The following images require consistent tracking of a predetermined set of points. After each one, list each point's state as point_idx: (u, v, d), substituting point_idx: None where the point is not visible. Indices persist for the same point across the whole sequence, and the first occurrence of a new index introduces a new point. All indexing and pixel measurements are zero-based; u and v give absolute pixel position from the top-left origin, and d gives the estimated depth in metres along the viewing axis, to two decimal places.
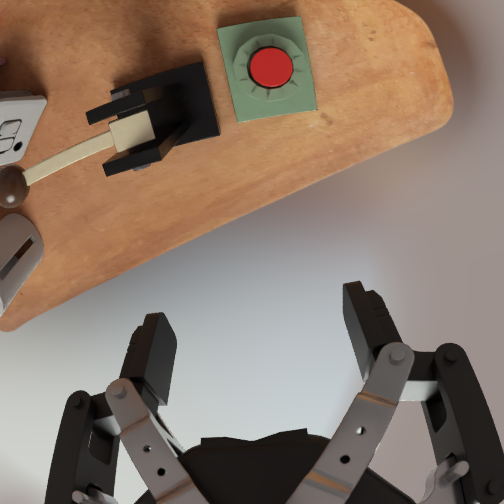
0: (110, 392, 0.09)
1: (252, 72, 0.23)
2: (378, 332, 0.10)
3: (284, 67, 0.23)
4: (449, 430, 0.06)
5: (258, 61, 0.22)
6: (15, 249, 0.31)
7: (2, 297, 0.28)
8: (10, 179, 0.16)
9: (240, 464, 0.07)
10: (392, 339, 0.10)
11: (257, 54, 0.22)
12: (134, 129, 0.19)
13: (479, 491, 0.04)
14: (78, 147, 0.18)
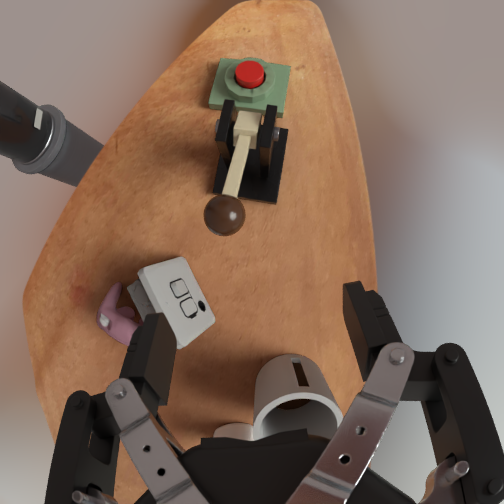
0: (110, 392, 0.09)
1: (248, 81, 0.34)
2: (378, 332, 0.10)
3: (252, 64, 0.34)
4: (450, 430, 0.06)
5: (242, 76, 0.34)
6: (291, 369, 0.33)
7: (325, 396, 0.27)
8: (218, 197, 0.23)
9: (240, 464, 0.07)
10: (392, 339, 0.10)
11: (237, 75, 0.34)
12: (247, 119, 0.27)
13: (479, 491, 0.04)
14: (236, 153, 0.26)
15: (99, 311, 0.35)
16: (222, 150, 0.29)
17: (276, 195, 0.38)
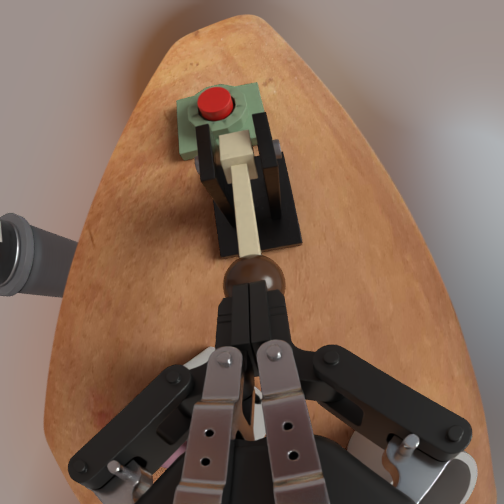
0: (216, 356, 0.10)
1: (217, 110, 0.29)
2: (265, 329, 0.11)
3: (214, 91, 0.30)
4: (373, 418, 0.08)
5: (207, 107, 0.29)
6: None
7: None
8: (237, 264, 0.15)
9: (240, 464, 0.07)
10: (281, 336, 0.11)
11: (201, 108, 0.29)
12: (233, 142, 0.20)
13: (444, 446, 0.06)
14: (237, 192, 0.19)
15: None
16: (215, 194, 0.22)
17: (299, 233, 0.30)
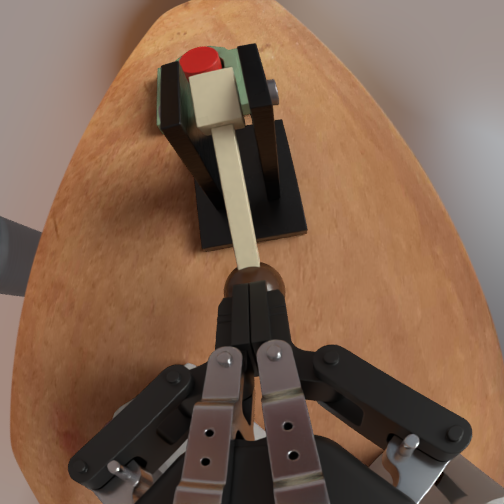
0: (216, 356, 0.10)
1: (201, 70, 0.22)
2: (265, 329, 0.11)
3: (199, 51, 0.23)
4: (373, 418, 0.08)
5: (190, 67, 0.23)
6: None
7: (497, 496, 0.08)
8: None
9: (240, 464, 0.07)
10: (281, 336, 0.11)
11: (183, 69, 0.23)
12: (212, 93, 0.13)
13: (444, 446, 0.06)
14: (225, 176, 0.15)
15: None
16: (185, 154, 0.15)
17: (303, 218, 0.23)
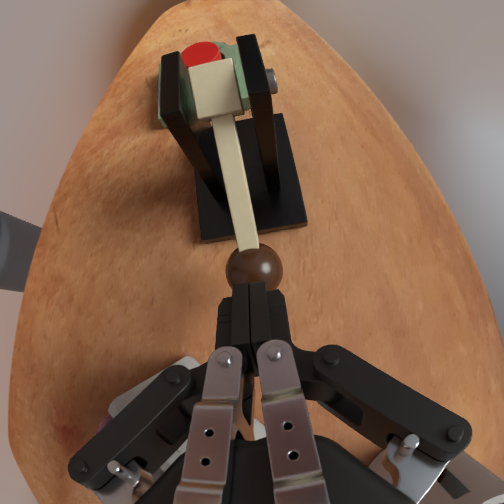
0: (216, 356, 0.10)
1: None
2: (265, 329, 0.11)
3: (200, 46, 0.23)
4: (373, 418, 0.08)
5: (191, 62, 0.23)
6: None
7: (502, 491, 0.08)
8: (240, 271, 0.16)
9: (240, 464, 0.07)
10: (281, 336, 0.11)
11: None
12: (212, 84, 0.13)
13: (444, 446, 0.06)
14: (225, 164, 0.15)
15: None
16: (185, 142, 0.15)
17: (303, 210, 0.23)
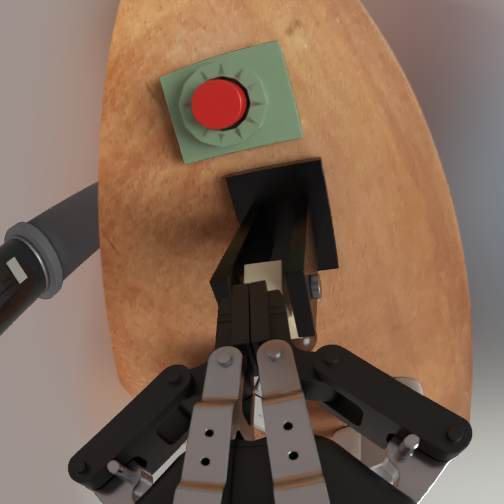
0: (216, 355, 0.10)
1: (224, 126, 0.20)
2: (265, 329, 0.11)
3: (213, 89, 0.19)
4: (373, 418, 0.08)
5: (209, 120, 0.20)
6: None
7: None
8: None
9: (240, 464, 0.07)
10: (281, 337, 0.11)
11: (201, 122, 0.20)
12: None
13: (444, 446, 0.06)
14: None
15: None
16: None
17: (335, 259, 0.27)
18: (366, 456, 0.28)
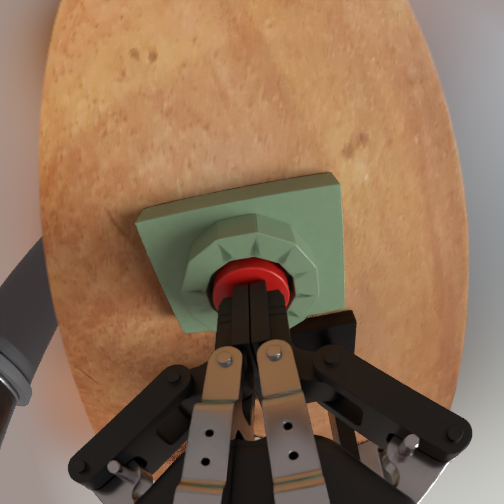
0: (216, 356, 0.10)
1: None
2: (265, 329, 0.11)
3: (250, 281, 0.14)
4: (373, 418, 0.08)
5: None
6: (379, 472, 0.31)
7: None
8: None
9: (240, 464, 0.07)
10: (281, 336, 0.11)
11: None
12: None
13: (444, 446, 0.06)
14: None
15: None
16: None
17: None
18: None
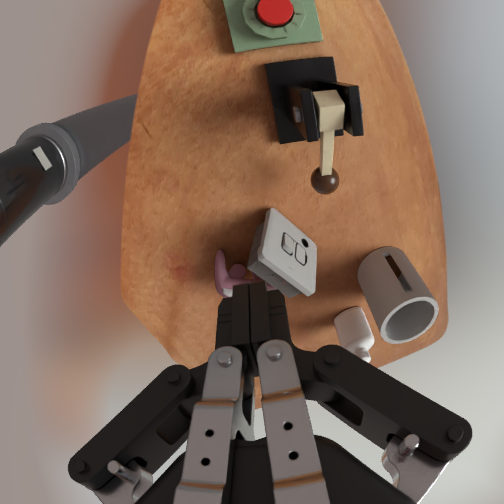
0: (216, 356, 0.10)
1: (280, 22, 0.25)
2: (265, 329, 0.11)
3: None
4: (373, 418, 0.08)
5: (270, 17, 0.24)
6: (390, 270, 0.41)
7: (425, 295, 0.36)
8: (323, 186, 0.32)
9: (240, 464, 0.07)
10: (281, 336, 0.11)
11: (264, 18, 0.24)
12: (331, 117, 0.24)
13: (444, 446, 0.06)
14: (325, 145, 0.28)
15: (219, 286, 0.43)
16: None
17: None
18: (382, 307, 0.38)
